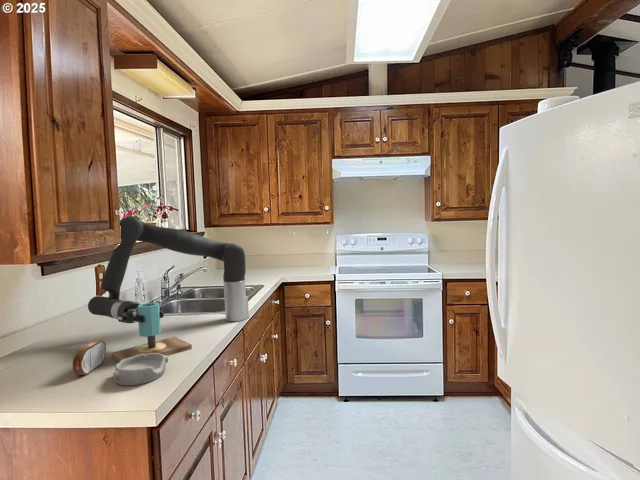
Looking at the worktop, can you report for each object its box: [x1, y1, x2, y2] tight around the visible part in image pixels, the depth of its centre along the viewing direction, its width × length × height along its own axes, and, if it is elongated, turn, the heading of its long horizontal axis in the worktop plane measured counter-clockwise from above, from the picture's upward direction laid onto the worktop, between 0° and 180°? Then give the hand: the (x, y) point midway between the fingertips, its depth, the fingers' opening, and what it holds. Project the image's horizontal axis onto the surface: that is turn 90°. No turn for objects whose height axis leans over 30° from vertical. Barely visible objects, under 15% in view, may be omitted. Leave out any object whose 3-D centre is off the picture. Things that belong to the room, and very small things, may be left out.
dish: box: [112, 353, 169, 387], centre depth 121 cm, size 14×14×5 cm
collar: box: [138, 302, 162, 338], centre depth 141 cm, size 6×6×10 cm
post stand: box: [110, 335, 193, 363], centre depth 141 cm, size 22×14×11 cm, turn 134°
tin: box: [72, 339, 107, 376], centre depth 128 cm, size 15×3×8 cm, turn 1°
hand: (153, 317), depth 139 cm, fingers closed on collar, 6 cm apart
